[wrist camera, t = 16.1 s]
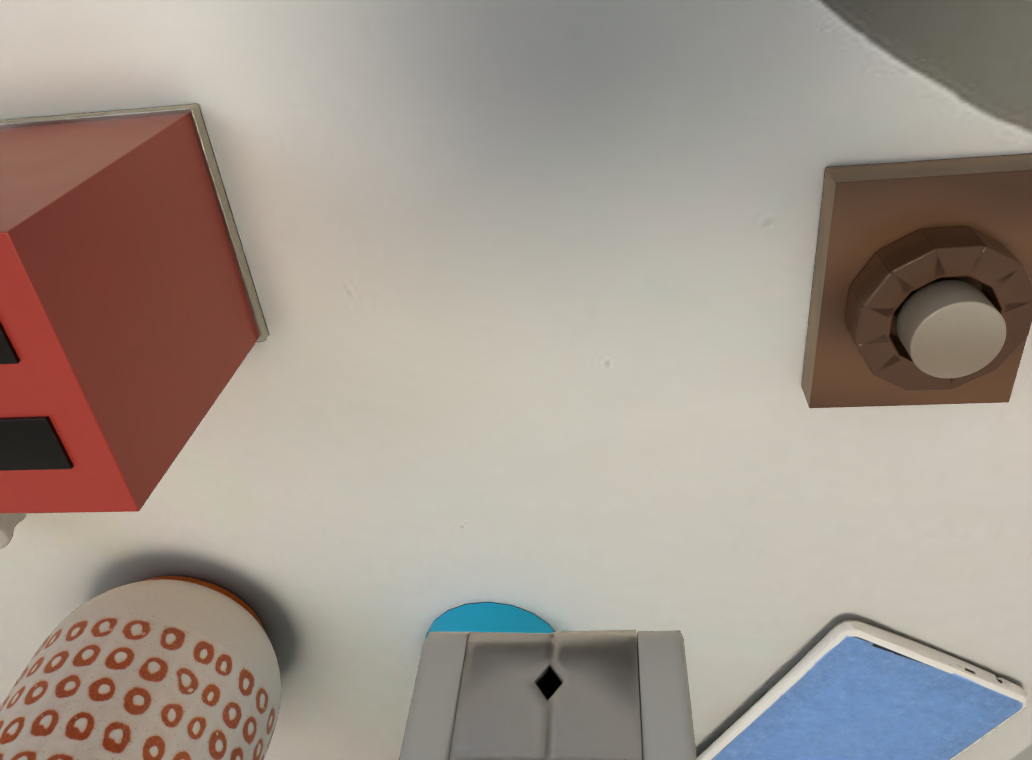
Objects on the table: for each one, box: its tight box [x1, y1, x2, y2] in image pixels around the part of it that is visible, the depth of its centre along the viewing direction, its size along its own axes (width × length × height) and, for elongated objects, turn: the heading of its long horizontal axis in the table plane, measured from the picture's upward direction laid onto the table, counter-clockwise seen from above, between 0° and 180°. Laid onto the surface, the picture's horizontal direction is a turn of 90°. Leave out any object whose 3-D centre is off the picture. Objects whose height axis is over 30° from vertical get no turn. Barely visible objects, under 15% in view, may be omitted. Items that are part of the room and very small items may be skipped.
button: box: [896, 280, 1006, 378], centre depth 30 cm, size 3×3×2 cm
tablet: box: [697, 620, 1028, 760], centre depth 49 cm, size 19×13×1 cm, turn 156°
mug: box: [425, 602, 554, 640], centre depth 46 cm, size 12×8×8 cm
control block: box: [802, 154, 1032, 408], centre depth 31 cm, size 10×8×4 cm
